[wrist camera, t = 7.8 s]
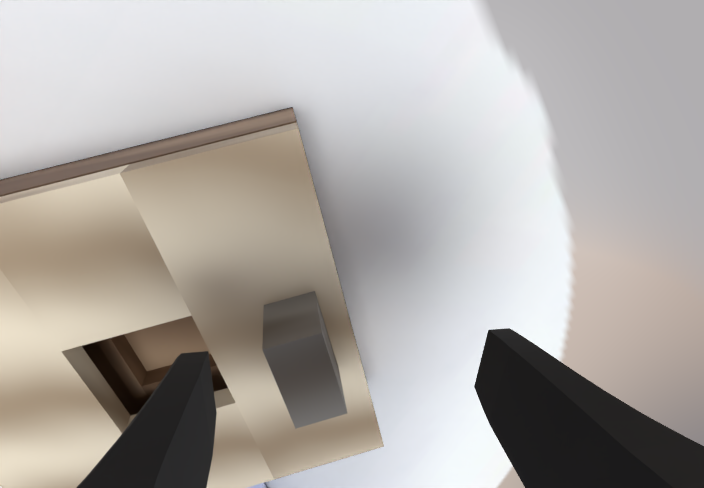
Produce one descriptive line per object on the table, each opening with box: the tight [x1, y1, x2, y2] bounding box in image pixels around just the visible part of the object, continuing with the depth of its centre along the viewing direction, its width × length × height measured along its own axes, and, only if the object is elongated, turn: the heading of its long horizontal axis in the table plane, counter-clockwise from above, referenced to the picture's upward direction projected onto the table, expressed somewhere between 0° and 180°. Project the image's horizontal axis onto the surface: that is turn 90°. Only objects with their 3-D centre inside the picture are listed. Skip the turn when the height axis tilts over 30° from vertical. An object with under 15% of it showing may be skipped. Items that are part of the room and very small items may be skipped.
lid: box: [0, 122, 384, 488], centre depth 15 cm, size 16×16×4 cm
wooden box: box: [0, 107, 297, 416], centre depth 19 cm, size 16×16×3 cm
